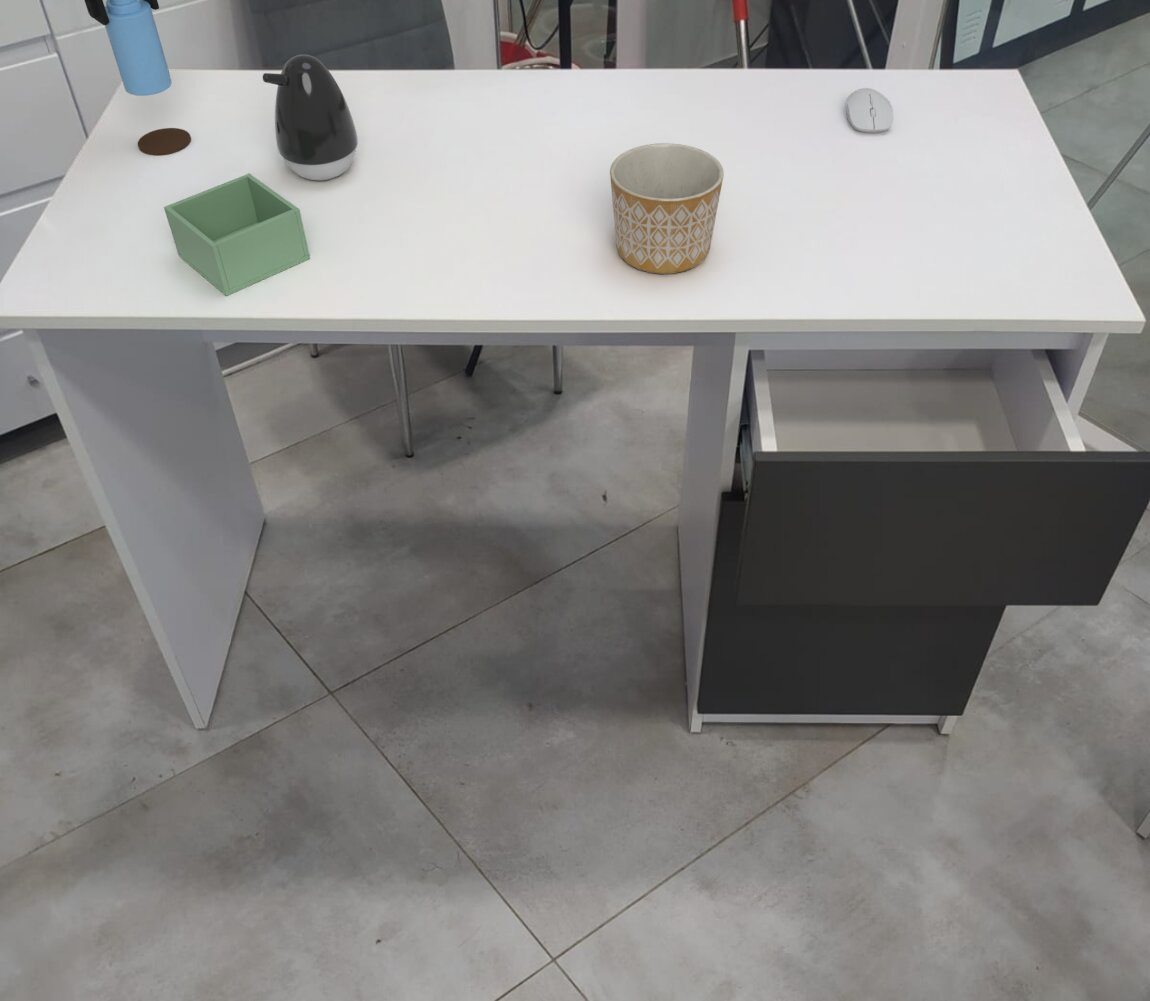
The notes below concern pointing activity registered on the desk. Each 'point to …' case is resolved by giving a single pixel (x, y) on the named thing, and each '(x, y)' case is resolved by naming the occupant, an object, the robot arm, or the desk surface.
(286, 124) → the pump dispenser
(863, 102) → the computer mouse
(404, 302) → the desk surface
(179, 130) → the coaster
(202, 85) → the desk surface
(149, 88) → the bottle
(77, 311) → the desk surface
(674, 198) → the planter
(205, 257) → the bin
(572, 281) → the desk surface
